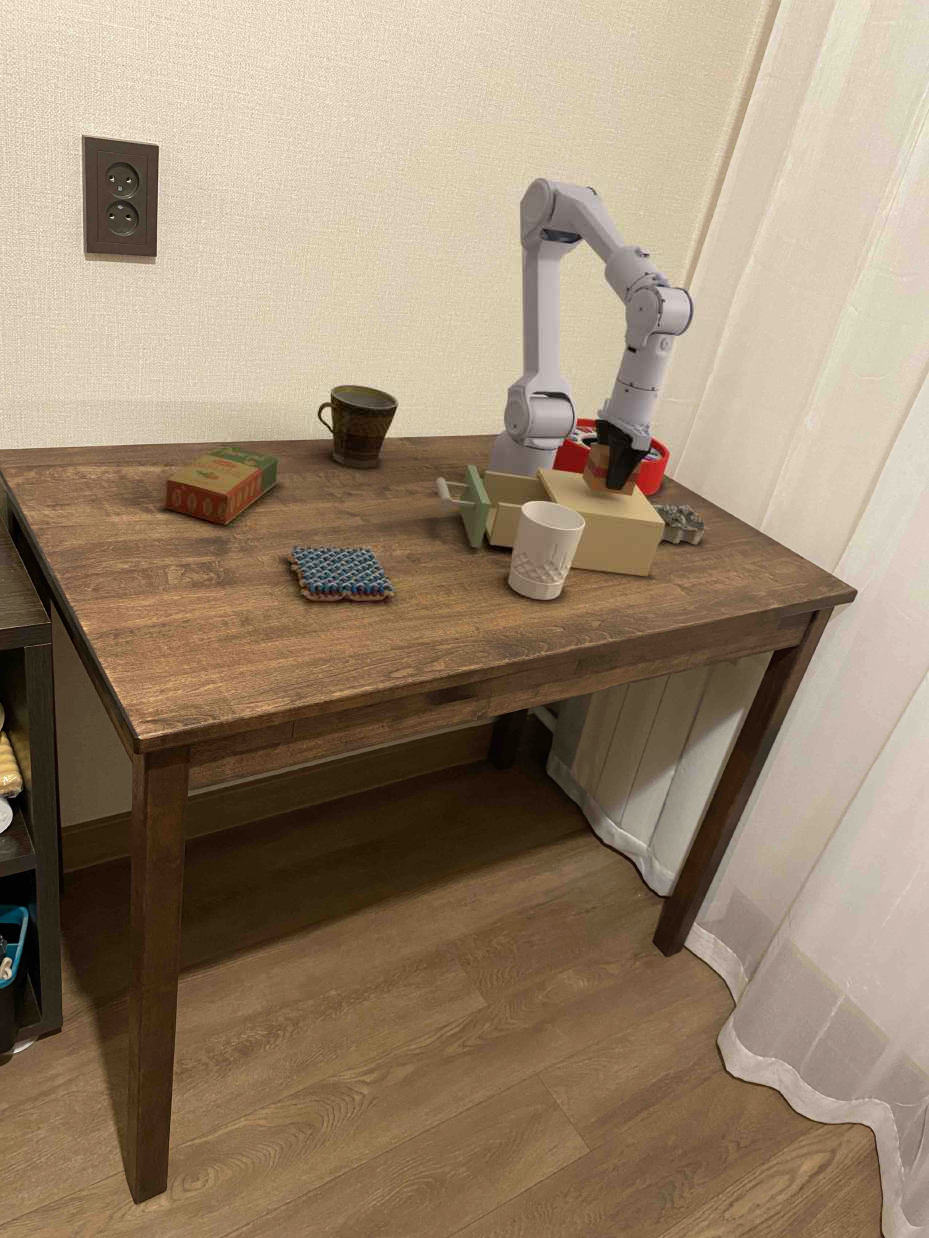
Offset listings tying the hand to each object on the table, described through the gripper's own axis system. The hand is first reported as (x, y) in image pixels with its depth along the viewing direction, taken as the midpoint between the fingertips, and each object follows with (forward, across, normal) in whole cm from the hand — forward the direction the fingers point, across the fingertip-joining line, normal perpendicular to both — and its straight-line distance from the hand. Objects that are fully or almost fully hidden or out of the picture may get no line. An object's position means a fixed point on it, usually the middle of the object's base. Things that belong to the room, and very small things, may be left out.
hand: (608, 481), depth 124 cm
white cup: (+10, +14, -11) cm, 21 cm away
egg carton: (+10, -9, +15) cm, 20 cm away
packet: (+1, 0, 0) cm, 1 cm away
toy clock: (+10, -32, +12) cm, 36 cm away
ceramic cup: (+10, -20, -33) cm, 40 cm away
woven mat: (+10, +18, -36) cm, 41 cm away
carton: (+10, -1, -50) cm, 51 cm away
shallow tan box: (+10, 0, -1) cm, 10 cm away
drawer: (+9, 0, -14) cm, 17 cm away
